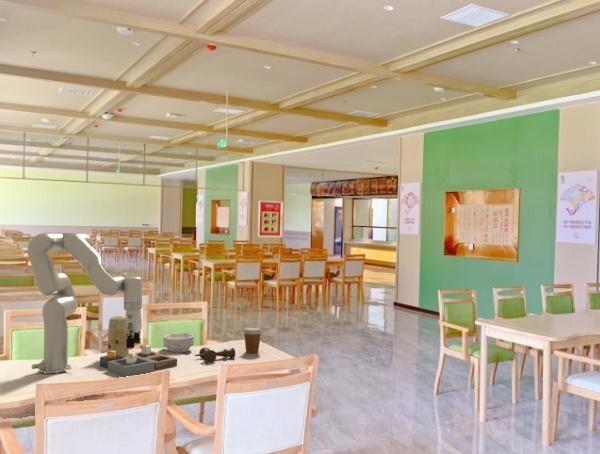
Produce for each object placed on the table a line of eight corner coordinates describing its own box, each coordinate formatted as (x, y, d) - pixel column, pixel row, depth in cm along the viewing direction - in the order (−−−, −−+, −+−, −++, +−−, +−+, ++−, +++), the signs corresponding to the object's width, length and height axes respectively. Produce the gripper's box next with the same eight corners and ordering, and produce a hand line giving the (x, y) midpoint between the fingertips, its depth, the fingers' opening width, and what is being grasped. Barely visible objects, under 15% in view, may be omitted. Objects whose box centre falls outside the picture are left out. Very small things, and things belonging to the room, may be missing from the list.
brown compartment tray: (177, 367, 247) (177, 358, 247) (156, 372, 239) (156, 362, 239) (149, 358, 261) (149, 350, 261) (128, 362, 253) (129, 354, 253)
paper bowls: (157, 350, 279) (157, 335, 279) (183, 346, 289) (183, 331, 289) (173, 356, 268) (173, 340, 268) (199, 351, 279) (199, 336, 279)
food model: (127, 356, 266) (128, 315, 266) (130, 359, 260) (131, 317, 260) (106, 358, 261) (107, 316, 261) (109, 361, 255) (109, 318, 255)
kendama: (237, 361, 264) (197, 363, 254) (230, 357, 272) (191, 359, 263) (238, 348, 264) (197, 350, 255) (231, 345, 272) (191, 347, 263)
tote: (125, 379, 226) (125, 367, 226) (107, 372, 236) (107, 361, 236) (154, 373, 237) (154, 361, 237) (136, 367, 246) (136, 355, 246)
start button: (109, 362, 241) (109, 352, 241) (105, 361, 243) (105, 351, 243) (117, 361, 244) (117, 351, 244) (113, 359, 246) (113, 349, 246)
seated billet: (144, 362, 251) (144, 347, 251) (139, 360, 254) (139, 345, 254) (152, 360, 254) (153, 345, 254) (147, 359, 257) (147, 344, 257)
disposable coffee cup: (240, 350, 282) (240, 327, 282) (257, 349, 287) (258, 326, 286) (246, 354, 274) (246, 330, 274) (264, 353, 278) (264, 329, 278)
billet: (129, 372, 233) (129, 356, 233) (123, 370, 236) (124, 354, 236) (138, 370, 236) (138, 354, 236) (132, 368, 239) (133, 352, 239)
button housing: (107, 371, 238) (108, 359, 238) (99, 368, 243) (100, 356, 243) (122, 368, 244) (122, 357, 244) (114, 365, 248) (114, 354, 248)
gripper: (137, 308, 228) (137, 349, 228) (146, 302, 245) (146, 340, 245) (118, 308, 227) (118, 350, 227) (129, 302, 245) (129, 341, 245)
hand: (133, 345), depth 236 cm, fingers open, 9 cm apart
